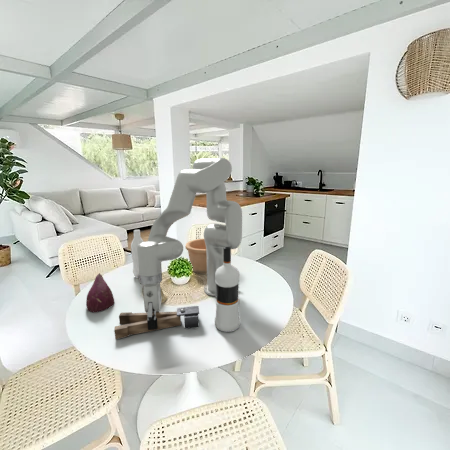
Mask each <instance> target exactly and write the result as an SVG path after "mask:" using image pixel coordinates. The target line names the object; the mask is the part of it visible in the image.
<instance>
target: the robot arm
mask: <svg viewBox="0 0 450 450" xmlns="http://www.w3.org/2000/svg"><path fill="white" fill-rule="evenodd" d="M192 164H193V165H192V168H187V169H183V170H181V171H179V172H178V174H177V177H176V179H175V183H174V185H173V190H172V192H171V195H170V198H169V202H168V205H167V206H166V208H165V209H164V210H163V211H162V212H161V213H160V214H159V216H158V217H157V218H156V219H155V221H154V222H153V224H152V225H151V228H150V232H149V234H148V239H147V241H144V242H142V243H140V244H139V245H138V247H137V254H138V267H139V277H138V278H139V279H138V280H139V284H140V285H141V286H143V287H142V289H143V290H142V291H143V305H144V313H147V323H148V330H154V329H157V328H158V326H157V318H156V312H161V306H162V303H161V300H162V297H161V287H162V286H161V283H162V281H163V273H162V271H163V269H162V262H167V261H173V260H176V259H178V258H179V257H181V256H182V254H183V251H184V246H183V245H184V244H183V243H182V242H181V241H180V240H178V239H176V238H172V237H170V236H167V234H168V232H169V229H170V228H171V227H172V225H173V224H174V223H175V222H177V221H179V220H181V219H183V218H185V217H188V216H190V214H191V211H192V208H193V205H194V201H195V199H196V195H197V194H206V216H207V218H208V219H209V220H211V221H213V222H218V223H210V224H208V225H206V227H205V228H204V231H203V239H204V240H205V245H206V254H207V274H206V281H207V282H206V284H205V285H204V288H203V291H204V293H205V294H206V295H208V296H211V297H216V282H215V280H216V278H215V272H216V270H217V269H218V268H219V267H221V266H222V265H223V254H224V253H223V248H224V247H226V246H228V247H231V250H236V249H238V248H239V246H240V245H241V243H242V237H243V210H242V207H241V205H240V204H239V203H238V202H237V201H234V200H228V199H227V187H226V183H225V182H226V181H228V179H229V178H230V176H231V174H232V171H233V170H232V169H233V167H232V163H231V162H230V160H228V159H227V158H225V157H224V158H223V157H203V158H198V159H196V160H195V161H194V162H193V163H192ZM223 223H224V224H223ZM153 312H154V315H153V314H152V313H153ZM154 331H155V330H154Z"/></svg>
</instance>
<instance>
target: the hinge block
mask: <svg viewBox="0 0 450 450" xmlns="http://www.w3.org/2000/svg"><path fill="white" fill-rule="evenodd" d="M176 312H177V316H181V317H182V316H183V318H184V329H186V330H187V329H195V328H199V327H200V323H199V322H200V321H199V315H200V308H199V306H198V305H191V306H184V307H177V308H176Z"/></svg>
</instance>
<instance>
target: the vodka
mask: <svg viewBox="0 0 450 450" xmlns="http://www.w3.org/2000/svg"><path fill="white" fill-rule="evenodd" d="M223 253H224V254H223V265H222V266H221V267H219V268H218V269H217V270H216V272H215V278H216V280H215V282H216V296H215V317H214V326H215V327H216V329H218V330H219V331H221V332H225V333H231V332H234V331H236V330H237V329H239V327H240V325H241V318H240V312H239V304H240V298H239V288H240V287H239V283H240V272H239V270H238V268H237V267H235V266H233V265H232V249H231V247H228V246H226V247H224V248H223Z"/></svg>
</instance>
